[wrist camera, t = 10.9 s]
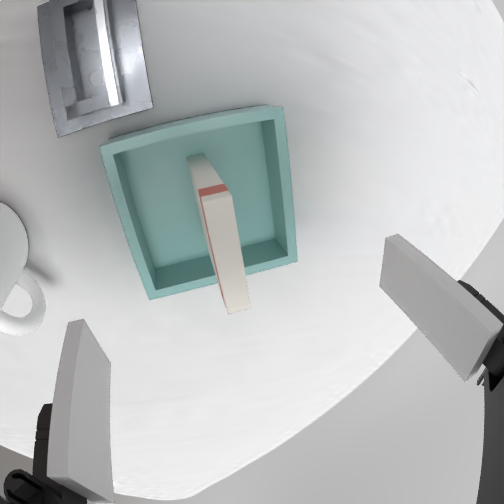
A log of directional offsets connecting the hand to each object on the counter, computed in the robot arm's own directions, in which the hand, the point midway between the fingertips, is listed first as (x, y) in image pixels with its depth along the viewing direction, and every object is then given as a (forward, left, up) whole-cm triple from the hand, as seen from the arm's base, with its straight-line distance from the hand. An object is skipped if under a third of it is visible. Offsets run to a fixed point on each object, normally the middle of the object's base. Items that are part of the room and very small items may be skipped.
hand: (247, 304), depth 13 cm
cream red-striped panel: (0, 0, -15) cm, 15 cm away
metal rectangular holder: (-14, -6, -16) cm, 22 cm away
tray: (0, 0, -16) cm, 16 cm away
